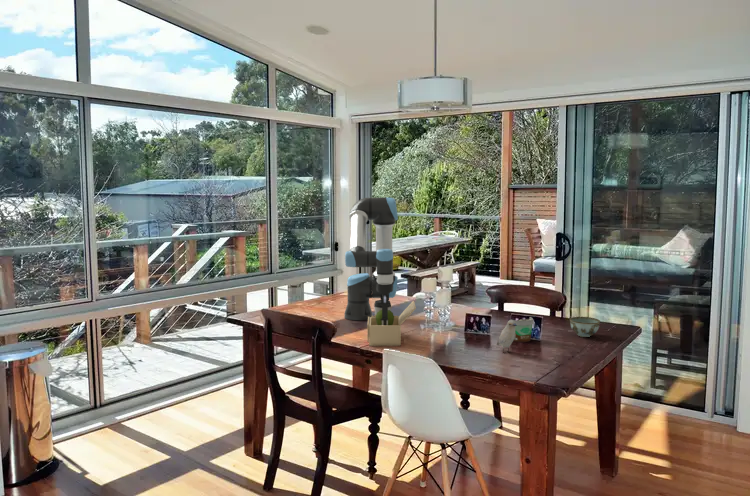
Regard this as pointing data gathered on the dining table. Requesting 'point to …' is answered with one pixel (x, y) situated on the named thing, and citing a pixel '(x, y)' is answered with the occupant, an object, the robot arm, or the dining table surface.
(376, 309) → the coffee cup
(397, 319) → the carton
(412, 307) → the flap
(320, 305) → the dining table surface
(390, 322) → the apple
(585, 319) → the bowl
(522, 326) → the food container
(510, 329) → the bird
